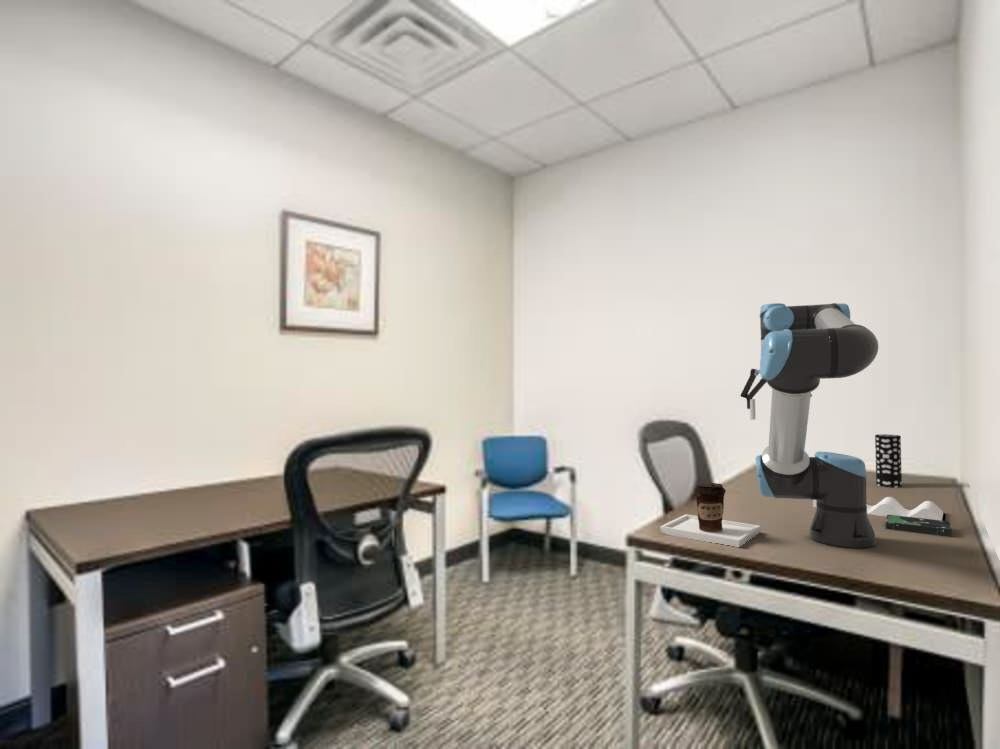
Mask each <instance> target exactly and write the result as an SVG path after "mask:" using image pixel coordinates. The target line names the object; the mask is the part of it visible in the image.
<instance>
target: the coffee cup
mask: <svg viewBox="0 0 1000 749" xmlns="http://www.w3.org/2000/svg"><path fill="white" fill-rule="evenodd" d="M694 492H695V499H696V500H695V502H696V511H697V516H698V521H699V529H700V530H703V531H709V532H719V531H723V529H722V520H723V516H724V515H723V514H724V510H725V508H724V506H725V504H724V503H725V502H724V501H725V495H726V489H725V488H724V487H723V484H722V483H716V482H704V483H703V482H702V483H697V486H696V487H695V489H694Z"/></svg>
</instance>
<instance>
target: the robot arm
mask: <svg viewBox="0 0 1000 749" xmlns="http://www.w3.org/2000/svg"><path fill="white" fill-rule="evenodd" d="M759 310H760V313H759V320H760V324H759V325H760V361H759V369H757V368H751V369H750V371H749V372H750V374H749V377H748V379H747V381H746V383H745V385H744V387H743V389H742V392H741V394H740V397H741V398H745V399H746V408H747V410H749V413H750V415H749V417H750V420H751V421H752V420H756V418H757V417H756V399H755V398H754V397H755V396H756V394H758V392H759V391H760V390H761V389H762V388H763V387H764V386H765V384H767V385H768V386H769V387H770V388H771V389H772V390H771V405H770V418H769V419H770V420H769V433H768V434H769V435H768V446H766V448H764V449H763V451H762V454H759V455H756V456H755V465H756V472H757V481H758V488H759V493H760V494H761V495H762V496H763V497H765V498H774V499H789V500H790V499H791V500H792V499H793V500H810V501H811V500H812V501H813V500H816V505H817V508H815V509H816V510H815V511H814V512H815V513H814V515H813V518H812V521H811V523H810V527H809V537H810V538H811V540H814V541H817V542H818V543H823V544H824V545H830V546H835V547H842V548H849V549H850V548H853V549H862V548H863V549H865V548H871V547H874V546H875V545H876V544H877V543H876V542H877V541H876V540H877V539H876V533H875V531H874V529H873V526H872V523H871V521H870V520H871V519H870V518H869V516H868V515H869V514H867V504H868V503H867V478H868V476H867V469H866V463H865V461H863V459H862V458H859V457H857V456H853V455H849V454H845V453H844V454H842V453H838V452H829V451H819V450H818V451H816V452H815V454H814V456H809V454H808V453H807V452H806V451H805V449H806V438H807V433H808V432H807V431H808V421H809V414H810V406H811V405H810V404H811V398H812V396H813V394H812V392H814V391H815V390H817V389H818V387H819V385H820V382H821V379H822V380H823V379H843V378H848V377H851V376H854V375H856V374H858V373H861V372H862V371H864V370H865V369H867V368H868V367H869V366H870V365H871V364H872V363H873V362H874V361H875V359H876V357H877V355H878V352H879V342H878V339H877V337H876V334H874V333H873V332H872V331H871V330H870V329H869V328H868V327H866V326H864V325H860V324H856V323H855V322H854V321H853V320H851V309H850V307H849V305H848V304H847V303H844V302H843V303H838V302H837V303H835V302H833V303H825V304H824V303H823V304H821V303H820V304H808V305H786V304H785V303H777V302H776V303H775V302H774V303H767V304H762V305H761V306H760V308H759ZM759 374H760V377H761V379H760V380H759V381H758V383H757V384H756V385H755V386H754V387H753V388H752V386H753V384H754V383H755V380H756V378H757V376H759ZM751 388H752V389H751ZM750 390H751V391H750Z"/></svg>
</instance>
